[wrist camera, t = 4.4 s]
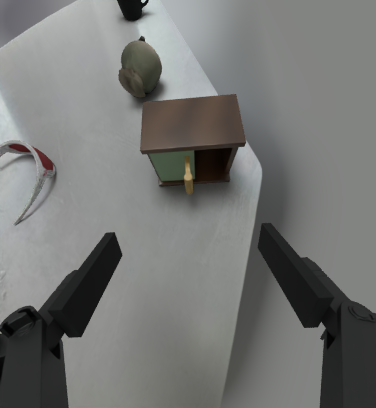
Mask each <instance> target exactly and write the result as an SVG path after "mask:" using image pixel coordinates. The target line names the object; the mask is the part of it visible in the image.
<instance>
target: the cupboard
mask: <svg viewBox="0 0 376 408" xmlns="http://www.w3.org/2000/svg"><path fill="white" fill-rule="evenodd" d="M245 144H246V140H245V135H244V130H243V125H242V120H241V116H240V111H239V106H238V101H237V96H236V94H231V95H220V96H208V97H197V98H186V99H175V100H163V101H152V102H143V111H142V129H141V147H140V151H141V153H142V154H147V155H148V157H149V159H150V161H151V163H152V165H153V167H154V169H155V166H154V164H153V162H152V160H151V158H150V156H149V154H154V153H167V152H180V151H193V150H194V165H195V179H193V184H203V183H217V182H229V181H230V177H229V171H230V168H231V166H232V163H233V160H234V158H235V155H236V153H237V150H238V147H244V146H245ZM155 171H156V169H155ZM156 173H157V171H156ZM157 175H158V173H157ZM158 177H159V175H158ZM174 185H185V181H184V180H174V181H161V179H160V177H159V186H174Z"/></svg>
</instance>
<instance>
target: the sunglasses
mask: <svg viewBox="0 0 376 408" xmlns="http://www.w3.org/2000/svg"><path fill="white" fill-rule="evenodd" d="M6 152H10V153H16V154H29V155H33V156H34V159H35V161H36V164H37V180H36V184H35V187H34V190H33V192H32V195H31V197H30V199H29V201H28V203H27V205H26V207H25V208H24V210H23V211H22V213H21V214H20V215H19V217H18V218H17V219H16V220H15V221H14V223H13V225H15V224H17V223H19V221H20V220H21V219H22V218H23V216H24V215H25V213H26V212H27V210H28V209H29V208H30V206H31V205H32V203H33V202H34V200H35V199H36V197H37V196H38V194H39V192H40V191H41V189H42V186H43V184H44V182H45V180H46V178H51V177H52V176H53V175H54V174H55V166H54V164H53V163H52V161H51V160H50V159H49V158H48V157H47V156H46V155H45V154H43V153H42V152H41V151H39V150H38V149H36V148H34V147H32V146H30V145H29V144H27V143H25V142H22V141H18V140H12V141H7V142H5V143H3V144H1V145H0V157H1V156H2V155H3V154H5V153H6ZM38 172H39V173H38ZM42 180H43V181H42ZM41 181H42V182H41Z"/></svg>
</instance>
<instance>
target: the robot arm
mask: <svg viewBox="0 0 376 408" xmlns="http://www.w3.org/2000/svg"><path fill="white" fill-rule="evenodd" d="M258 249H259V251H260V252H261V254H262V256H263V258H264V259H265V261H266V263H267V264H268V266H269V268H270V269H271V271H272V273H273V275H274V276H275V278H276V280H277V281H278V283H279V285H280V287H281V288H282V290H283V292H284V294H285V295H286V297H287V299H288V301H289V302H290V304H291V306H292V307H293V309H294V311H295V312H296V314H297V316H298V318H299V320H300V321H301V323H302V325H303V327H304V328H312V327H313V328H314V327H318V326H319V324H320V323H321V322H322V323H323V325H324V326H325V327H326V329H325V331H324V333H323V334H322V336H321V338H320V339H322V340H323V339H324V349H323V365H322V380H321V396H320V408H376V313H372V312H371V311H370V310H368V309H367V308H366V307H365V306H363V305H361V304H359V303H357V302H354V301H351V300H350V299H349V298H348V297H347V296H346V295H345V294H344V293H343V292H342V291H341V290H340V289H339V288H338V287H337V286H336V284H335V283H334V282H333V281H332V280H331V279H330V278H329V277H327V275H326V274H325V273H324V272H323V271H322V270H321V268H320V267H319V266H318V265H317V264H316V263H315V262H313V261H312V260H310V259H309V258H307V257H305V258H300V257H299V255H298V254H297V253H296V252H295V251H294V250H293V248H292V247H291V246H290V245H289V244H288V243H287V242H286V240H285V239H284V238H283V237H282V236H281V235H280V233H279V232H278V231H277V230H276V229H275V227H274V226H273V225H272V224H271V223H262V226H261V231H260V237H259V243H258ZM121 257H122V252H121V249H120V246H119V244H118V241H117V238H116V235H115V232H111V233H106V234H105V235H104V236H103V238H102V239H101V240H100V242H99V243H98V244H97V246H96V247H95V248H94V250H93V251H92V252H91V254H90V255H89V256H88V258H87V259H86V260H85V261H84V263H83V264H82V265H81V267H80V268H79V269H78V270H74V271H72V272H71V273H70V274H69V275H67V276H66V277H65V279H64V280H63V281H62V282H61V284H60V285H59V286H58V287H57V289H56V291H54V292H53V293H52V295H51V296H50V297H49V298H48V300H47V301H46V302H45V303H44V305H43V306H42V307H41V308H40V310H39V311H38V312H37V311H36V309H35V308H34V307H32V306H25V307H22V308H20V309H18V310H16V311H15V312H13V313H12V314H10V315H9V316H8V317H7V318H6V319H5V320H4V321H3V322H2V323H1V325H0V332H2V334H0V408H69V407H68V396H67V385H66V374H65V363H64V352H63V342H62V340H61V338H62V336H63V334H64V333H65V334H66V335H67V336H68V337H69V338H72V337H82V335H83V333H84V331H85V329H86V327H87V325H88V323H89V321H90V319H91V317H92V315H93V313H94V311H95V309H96V307H97V305H98V303H99V301H100V299H101V297H102V295H103V293H104V291H105V289H106V287H107V285H108V283H109V281H110V279H111V277H112V275H113V273H114V271H115V269H116V267H117V265H118V263H119V261H120V259H121Z"/></svg>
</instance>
